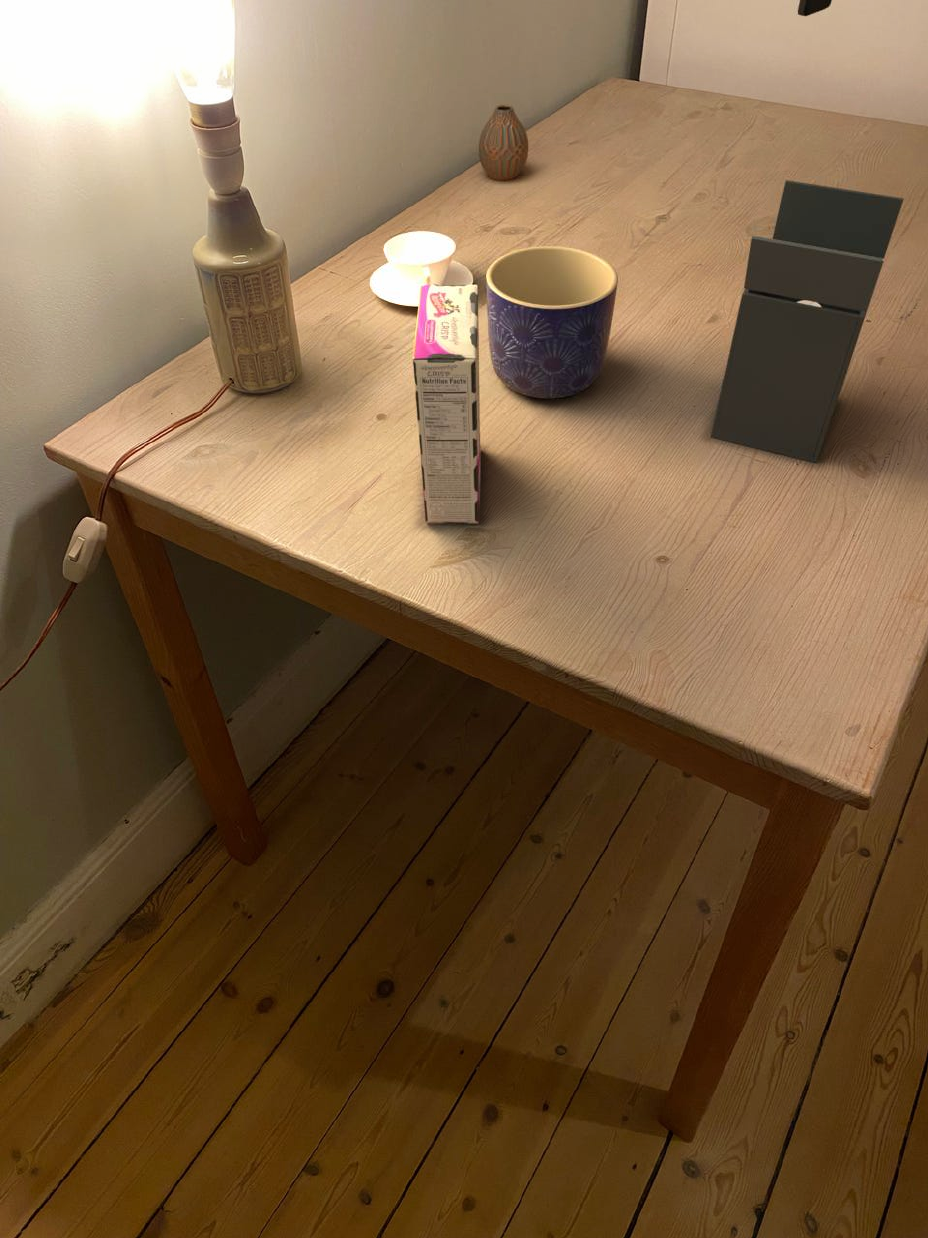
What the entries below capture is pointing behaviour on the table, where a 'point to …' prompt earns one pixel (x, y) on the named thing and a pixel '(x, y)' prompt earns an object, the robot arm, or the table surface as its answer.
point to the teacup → (417, 267)
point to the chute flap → (811, 273)
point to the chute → (799, 329)
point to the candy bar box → (448, 402)
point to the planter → (549, 319)
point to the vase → (503, 144)
